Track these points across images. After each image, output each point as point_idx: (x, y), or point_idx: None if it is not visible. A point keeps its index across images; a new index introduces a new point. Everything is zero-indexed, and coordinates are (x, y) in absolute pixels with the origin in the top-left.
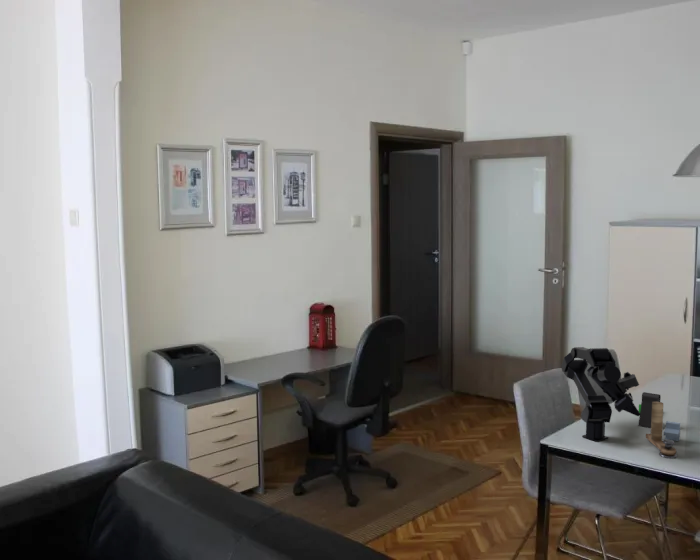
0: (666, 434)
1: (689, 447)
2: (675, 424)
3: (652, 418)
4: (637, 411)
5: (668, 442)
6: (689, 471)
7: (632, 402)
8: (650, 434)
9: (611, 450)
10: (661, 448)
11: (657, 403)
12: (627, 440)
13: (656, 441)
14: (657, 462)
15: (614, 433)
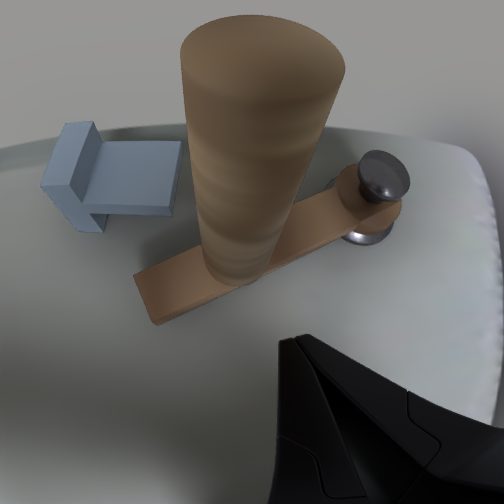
0: (172, 198)
1: None
2: (86, 141)
3: (281, 215)
4: (348, 362)
5: (404, 174)
6: (455, 155)
7: (357, 475)
8: (155, 293)
9: None
10: (388, 221)
11: (291, 52)
12: (214, 423)
13: (287, 250)
14: (453, 244)
15: (118, 490)
